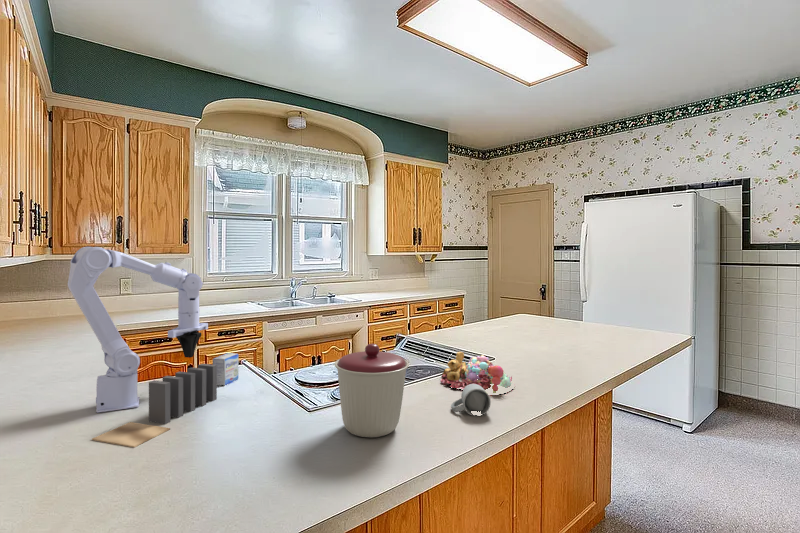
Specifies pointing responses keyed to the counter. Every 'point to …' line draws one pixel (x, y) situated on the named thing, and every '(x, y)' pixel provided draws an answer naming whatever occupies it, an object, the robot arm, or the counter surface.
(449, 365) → the candy landscape model
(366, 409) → the canister
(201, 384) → the domino
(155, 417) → the domino
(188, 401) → the domino
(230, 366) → the medicine box
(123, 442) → the cork pad
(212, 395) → the domino
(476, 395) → the ceramic mug
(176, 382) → the domino
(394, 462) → the counter surface
